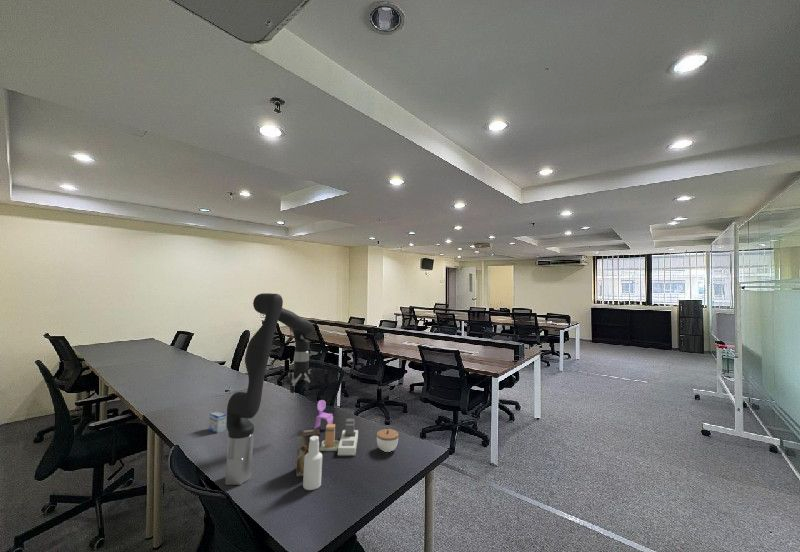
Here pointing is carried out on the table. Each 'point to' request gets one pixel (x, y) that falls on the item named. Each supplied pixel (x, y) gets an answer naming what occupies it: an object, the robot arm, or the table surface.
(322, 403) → the toy chair
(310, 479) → the white bottle
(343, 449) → the white slotted holder
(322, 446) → the tray
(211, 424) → the medicine box
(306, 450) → the coffee box
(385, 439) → the lidded jar
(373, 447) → the table surface
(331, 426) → the plug
